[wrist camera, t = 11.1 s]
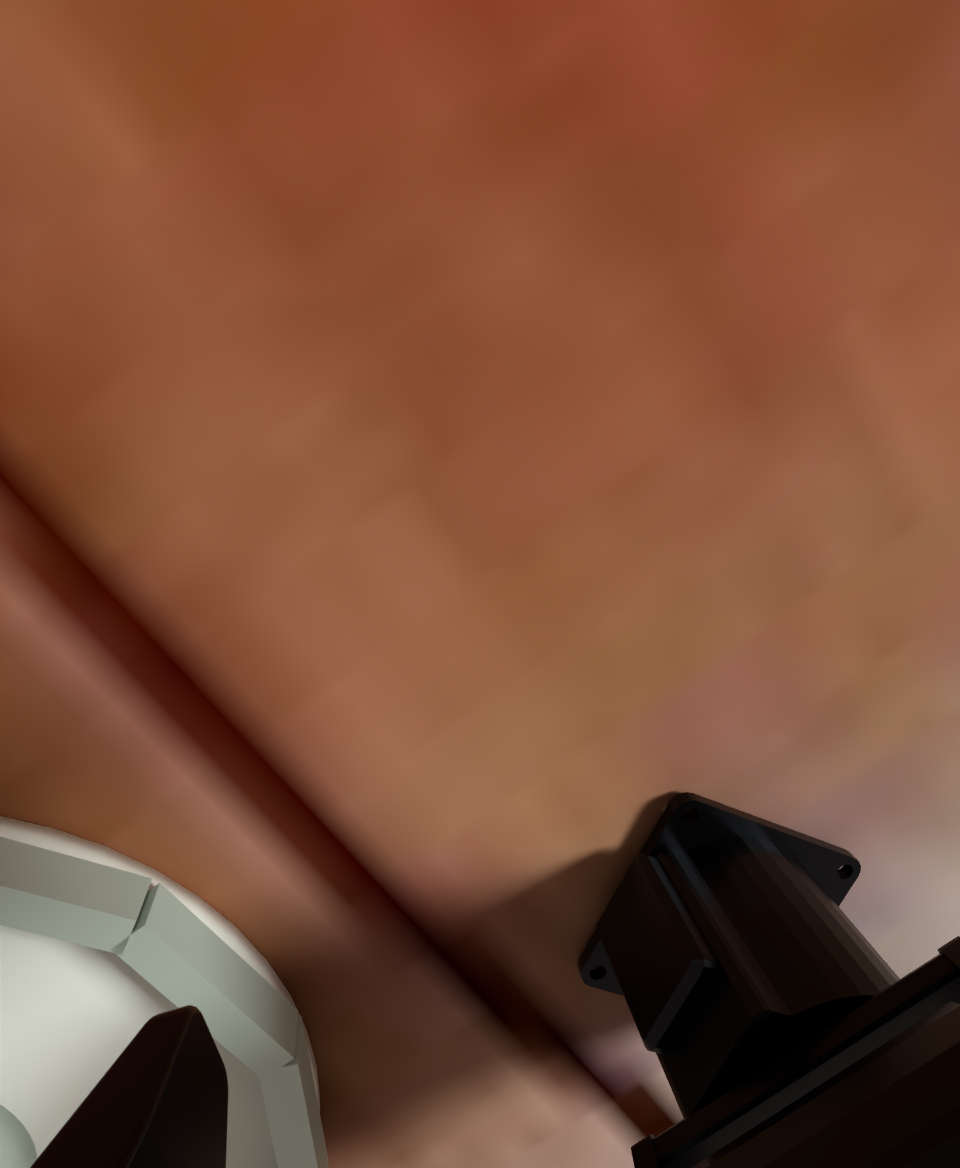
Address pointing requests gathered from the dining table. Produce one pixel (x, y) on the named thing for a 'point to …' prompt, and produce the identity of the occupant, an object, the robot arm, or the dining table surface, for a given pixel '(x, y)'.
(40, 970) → the tray
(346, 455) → the dining table surface
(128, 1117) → the robot arm
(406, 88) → the dining table surface
